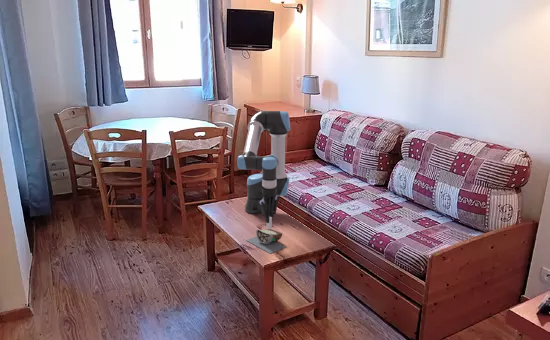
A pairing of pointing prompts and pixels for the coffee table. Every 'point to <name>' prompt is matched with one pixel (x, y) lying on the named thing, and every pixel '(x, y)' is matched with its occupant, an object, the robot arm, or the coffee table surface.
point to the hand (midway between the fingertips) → (269, 227)
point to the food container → (268, 235)
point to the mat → (266, 245)
